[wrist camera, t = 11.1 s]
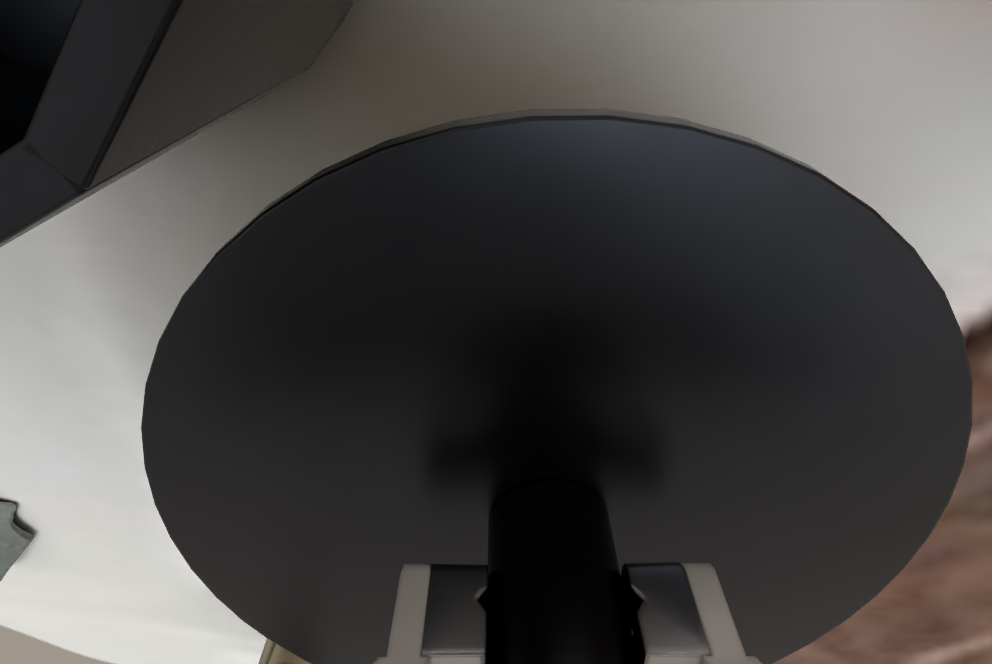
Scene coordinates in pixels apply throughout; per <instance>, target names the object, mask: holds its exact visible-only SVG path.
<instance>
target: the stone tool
mask: <svg viewBox="0 0 992 664" xmlns="http://www.w3.org/2000/svg"><path fill="white" fill-rule="evenodd" d="M15 510H16V505H15V504H14V503H10V502H1V501H0V581H1V580H2V578H3V577H4V575H5V574H6V573H7V571H8V570H9V569H10V567H11V566H12V565H13V563H14V562H15V561H16V560H17V558H18V557H19V556H20V554H21V553H22V552H23V551H24V549H25V548H26V547H27V545H28V544H29V543H30V542H31V540H32V539H33V538H34V535H32V534H30V533H28V532H26V531H24V530H22V529H20V528H19V527H18V526H17V525H15V524H14V522H13V517H14V516H13V513H14V512H15Z"/></svg>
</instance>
